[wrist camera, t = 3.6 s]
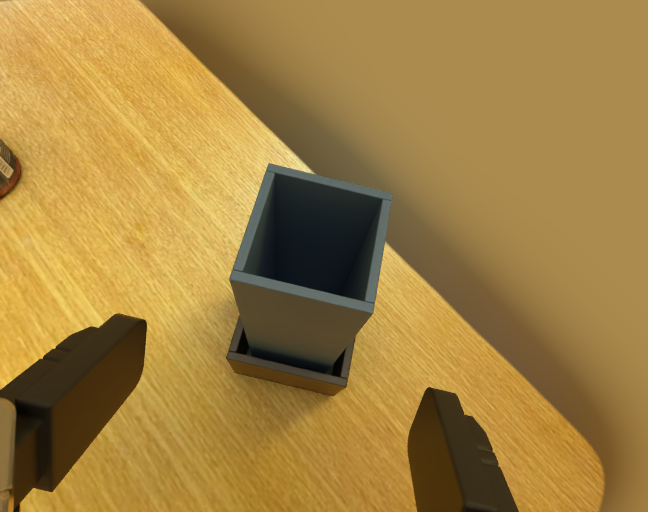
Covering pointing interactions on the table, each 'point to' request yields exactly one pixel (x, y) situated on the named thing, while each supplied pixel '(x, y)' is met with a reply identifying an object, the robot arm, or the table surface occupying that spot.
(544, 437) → the table surface
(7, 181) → the supplement bottle
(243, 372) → the charcoal bin
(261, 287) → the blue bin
